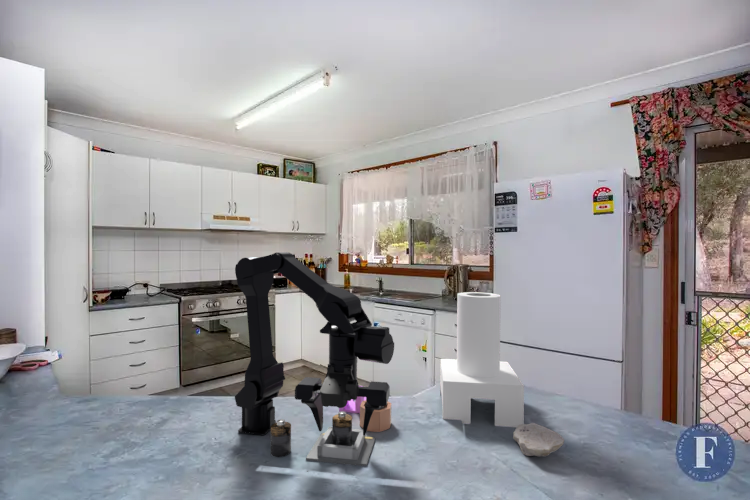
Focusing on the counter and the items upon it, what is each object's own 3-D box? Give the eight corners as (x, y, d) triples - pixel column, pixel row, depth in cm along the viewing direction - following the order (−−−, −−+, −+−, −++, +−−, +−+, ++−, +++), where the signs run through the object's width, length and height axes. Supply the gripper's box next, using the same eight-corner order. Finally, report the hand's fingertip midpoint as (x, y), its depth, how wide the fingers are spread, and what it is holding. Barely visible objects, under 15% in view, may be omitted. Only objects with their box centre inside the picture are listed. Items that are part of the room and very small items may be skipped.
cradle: (305, 464, 74) (305, 447, 74) (321, 438, 84) (321, 423, 84) (366, 470, 72) (366, 453, 72) (375, 443, 82) (375, 428, 82)
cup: (357, 433, 86) (358, 409, 86) (363, 419, 93) (363, 397, 93) (388, 436, 85) (388, 412, 85) (392, 422, 92) (392, 399, 92)
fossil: (531, 453, 73) (507, 412, 82) (526, 476, 76) (504, 434, 85) (573, 447, 74) (545, 407, 83) (567, 469, 77) (541, 429, 86)
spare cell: (267, 460, 75) (267, 424, 75) (275, 449, 79) (275, 415, 79) (286, 462, 74) (286, 426, 74) (293, 451, 78) (294, 417, 78)
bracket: (360, 417, 95) (360, 389, 95) (339, 415, 96) (339, 387, 96) (371, 396, 107) (371, 372, 107) (352, 395, 108) (352, 370, 108)
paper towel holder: (440, 392, 111) (441, 289, 110) (507, 396, 108) (508, 291, 108) (442, 422, 92) (443, 298, 92) (523, 427, 89) (524, 300, 89)
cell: (329, 451, 76) (330, 416, 76) (335, 441, 80) (335, 408, 80) (349, 453, 75) (349, 418, 75) (353, 443, 79) (353, 409, 79)
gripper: (283, 365, 71) (283, 448, 71) (382, 372, 68) (381, 458, 68) (304, 349, 82) (304, 421, 82) (390, 354, 79) (389, 429, 79)
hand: (342, 432), depth 78 cm, fingers open, 9 cm apart
